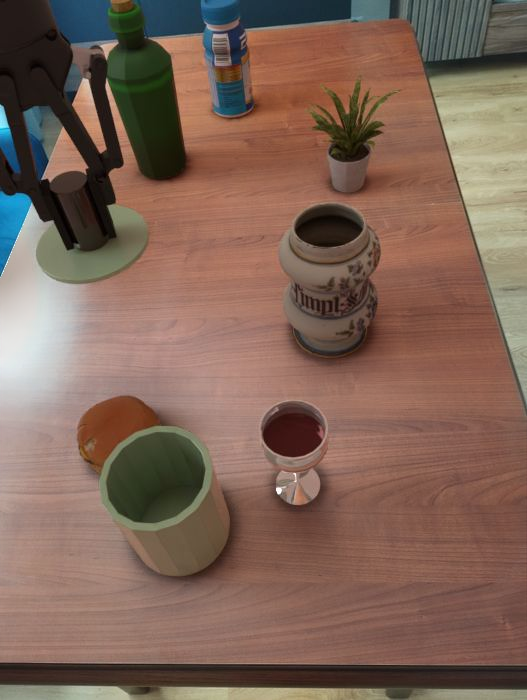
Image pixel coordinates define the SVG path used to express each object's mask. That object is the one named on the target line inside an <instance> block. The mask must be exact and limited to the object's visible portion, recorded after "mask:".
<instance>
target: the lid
mask: <svg viewBox="0 0 527 700" xmlns="http://www.w3.org/2000/svg"><path fill="white" fill-rule="evenodd" d="M49 182H50V185H49V188H50V191H51V193H52V195H53V197H54V200H55V202H56V204H57V206H58V209H59V211H60V213H61V215H62V218H63V220H64V222H65V224H66V227H67V229H68V231H69V233H70V235H71V238H72V240H73V242H74V249H71V250H68V251H67V249H66V247H65V245H64V243H63V241H62V239H61V237H60V234H59V232H58V230H57V228H56V226H55V224H54V222H53V223H52V224H50V226H48V228H47V229H46V230H44V232H43V233H42V234H41V236H40V238H39V240H38V241H37V245H36V248H35V258H36V262H37V264H38V266H39V268H40V269H41V271H42V272H43V273H44V274H45V275H46V276H47V277H49V278H51V279H52V280H54V281H57V282H60V283H63V284H69V285H88V284H94V283H99V282H102V281H106V280H109V279H112V278H115V277H116V276H118V275H120V274H122V273H123V272H125V271H127V270H128V269H129V268H131V267H132V266H133V265H135V264H136V263H137V262H138V261H139V260H140V259H141V257H142V256H143V255H144V253H145V252H146V250H147V248H148V246H149V243H150V237H151V235H150V230H149V225H148V223H147V221H146V219H145V218H144V217H143V215H141V214H140V213H139V212H138V211H136V210H135V209H133V208H131V207H127V206H124V205H118V204H112V205H108V209H109V212H110V214H111V217H112V220H113V223H114V227H115V232H116V236H117V237H116V238H112V239H109V237H108V234H107V232H106V229H105V226H104V224H103V221H102V219H101V216H100V213H99V211H98V208H97V206H96V203H95V200H94V198H93V195H92V193H91V190H90V187H89V185H88V180H87V175H86V172H83V171H81V170H69V171H64V172H61V173H60V174H58V175H56V176H55V177H53V178H52V179H51V180H50V181H49Z"/></svg>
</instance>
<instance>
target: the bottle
mask: <svg viewBox="0 0 527 700" xmlns="http://www.w3.org/2000/svg"><path fill="white" fill-rule="evenodd" d="M109 2H110V5H111V6H110V7H109V8H108V10H107V16H108V17H107V18H108V28H109V30H110V31H111V32H113V33H114V34H115V38H116V39H117V42H118V43H117V44H115V45H114V47H112V49H111V50H109V52H108V54H107V58H106V60H107V63H108V69H107V78H106V82H107V83H108V86H109V89H110V92H111V95H112V97H113V100H114V103H115V106H116V108H117V111H118V114H119V116H120V119H121V123H122V124H123V127H124V130H125V134H126V136H127V139H128V141H129V142H128V143H129V144H130V147H131V150H132V153H133V156H134V159H135V161H136V163H137V164H136V165H137V166H138V169H139V172H141V173H142V175H143V176H144V177H146V178H150V179H152V180H162V179H169V178H171V177H174V176H176V175H179V174H180V173H181V172H182V171H183V170H184V169H185V168H186V167H187V154H186V147H185V146H186V145H185V140H184V139H185V138H184V133H183V127H182V121H181V113H180V106H179V100H178V94H177V87H176V80H175V74H174V68H173V67H174V66H173V61H172V55H171V54H170V53H169V52H168V51H167V50H166V49H165V48H164V47H163V46H162V45H161V44H160V43H159V42H157V41H156V40H153V39H150V38H148V37H146V36H145V30H144V26H146V24H147V20H146V17H145V15H144V12H143V10H142V8H141V6H140V4H138V3H137V2H135V1H134V0H109Z"/></svg>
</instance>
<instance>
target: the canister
mask: <svg viewBox="0 0 527 700" xmlns="http://www.w3.org/2000/svg"><path fill="white" fill-rule="evenodd" d="M98 490H99V495H100V503H101V505H102V507H103V508H104V509H105V511H106V512H107V513H108V514H107V515H109V517H110V518H111V519H112V521H113V522H114V523H115V525H116V527H117V528H118V529H119V531H120V532H121V533H122V535H123V536H124V538H125V539H126V540H127V542H128V543H129V544H130V546H131V547H132V548H133V551H135V552H136V554H137V555H138V557H139V558H140V560H141V561H142V562H143V564H145V566H147V567H148V568H149V569H151V570H153V571H154V572H156V573H158V574H160V575H163V576H168V577H187V576H190V575H193V574H196V573H198V572H200V571H202V570H204V569H206V568H207V567H208V566H209V565H211V564H213V562H214V561H215V560H216V559H217V558H218V557H219V556H220V554H221V553H222V551H223V550H224V548H225V546H226V544H227V541H228V539H229V536H230V529H231V517H230V512H229V509H228V505H227V502H226V499H225V496H224V493H223V490H222V487H221V484H220V481H219V478H218V474H217V472H216V469H215V466H214V462H213V459H212V455H211V453H210V450H209V448H208V447H207V445H205V443H204V442H203V441H202V440H201V439H200V438H199V436H198V435H196V434H195V433H193V432H190V431H189V430H186V429H184V428H183V427H179V426H177V425H176V426H173V425H162V426H154V427H151V428H148V429H144V430H141V431H138V432H135V433H134V434H132V435H131V436H129V437H128V438H127V439H125V440H124V441H122V442H121V443H119V444H118V445H117V446H116V448H115V449H114V450H113V452H112V453H111V454H110V456H109V457H108V458H107V460H106V461H105V463H104V466H103V470H102V473H101V475H100V477H99V480H98Z"/></svg>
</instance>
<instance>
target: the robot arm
mask: <svg viewBox="0 0 527 700" xmlns="http://www.w3.org/2000/svg"><path fill="white" fill-rule="evenodd" d="M72 64H73V65H76V66H77V68H78V71H79V74H80V76H81V77H82V78H83V79H85V80H88V84H89V88H90V92H91V96H92V99H93V103H94V107H95V111H96V115H97V118H98V122H99V127H100V130H101V134H102V137H103V141H104V145H105V150H103V151H102V152H100V151H99V149H98V147H97V145H96V143H95V141H94V140H93V138H92V137H91V135H90V133H89V132H88V130H87V128H86V126H85V124H84V123H83V121H82V119H81V118H80V116H79V114H78V112H77V110H75V107H74V106H73V104H72V102H71V101H70V98H69V97H68V94H67V92H66V90H65V85H66V83H67V80H68V77H69V76H68V75H69V73H70V70H71V66H72ZM107 69H108V63H107V58H106V55H105V51H104V48H103V47H102V46H101V45H98V44H94V45H91V46H90V48H87V47H81V46H76V45H72V43H71V41H70V40H69V39H68V38H67V37H66V36H65V34H63V32H62V31H61V30H60V28H59V26H58V23H57V21H56V17H55V14H54V12H53V9H52V7H51V3H50V1H49V0H0V105H1V107H2V108H3V110H4V115H5V118H6V119H5V120H6V122H7V126H8V127H9V132H10V136H11V139H12V144H13V148H14V152H15V155H16V159H17V164H18V168H19V171H20V172H15V170H14V169H13V167H12V165H11V163H10V161H9V159H8V157H7V156H6V155H5V153H4V151H3V149H2V147H1V146H0V189H1V192H2V193H3V194H4V196H5V195H6V196H8V197H13V196H15V195H16V194H24V195H26V196H27V197H28V198H29V200H30V201H31V203H32V206H33V208H34V210H35V211H36V214H37V216H38V218H39V220H40V221H42V222H43V223H49V222H51V221H53V223H54V224H55V226H56V228H57V230H58V232H59V234H60V237H61V239H62V241H63V243H64V245H65V247H66V249H67V251H68V250H71V249H74V242H73V240H72V238H71V235H70V233H69V231H68V229H67V227H66V224H65V222H64V220H63V218H62V215H61V213H60V211H59V209H58V206H57V204H56V202H55V200H54V197H53V195H52V193H51V191H50V188H49V185H50V182H51V181H50V180H49V178H43V179H39V171H38V169H37V165H36V161H35V156H34V152H33V148H32V143H31V139H30V135H29V131H28V126H27V121H26V117H25V113H24V112H27V111H29V110H31V109H33V108H34V107H49V108H50V110H51V112H52V113H53V114H54V116H55V117H56V118H57V119H58V120H59V122H60V124H61V125H62V127H63V128H64V130H65V132H66V134H67V136H68V137H69V138H70V140H71V142H72V144H73V145H74V147H75V148H76V150H77V151H78V153H79V155H80V156H81V158H82V159H83V161H84V163H85V165H86V166H87V167H86V168H85V169H84V170H85V174H86V175H87V180H88V185H89V187H90V190H91V193H92V195H93V198H94V200H95V203H96V206H97V208H98V211H99V213H100V216H101V219H102V221H103V224H104V226H105V229H106V232H107V234H108V237H109V239H112V238H116V237H117V236H116V232H115V227H114V223H113V220H112V217H111V214H110V212H109V209H108V205H117V204H116V203H117V197H116V193H115V189H114V186H113V183H112V180H111V178H110V172H112V171H113V170H114V169H121V168H122V167H123V166H124V164H125V161H124V157H123V152H122V149H121V144H120V141H119V136H118V131H117V128H116V124H115V121H114V116H113V112H112V107H111V104H110V99H109V96H108V92H107V87H106V86H107Z"/></svg>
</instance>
